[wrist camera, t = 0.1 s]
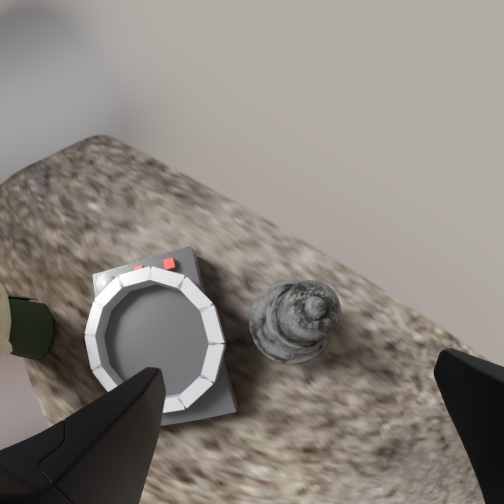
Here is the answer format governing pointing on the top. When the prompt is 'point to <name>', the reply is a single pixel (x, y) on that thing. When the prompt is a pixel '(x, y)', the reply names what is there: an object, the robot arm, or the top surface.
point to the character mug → (24, 326)
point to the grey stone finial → (294, 320)
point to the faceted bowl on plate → (161, 334)
